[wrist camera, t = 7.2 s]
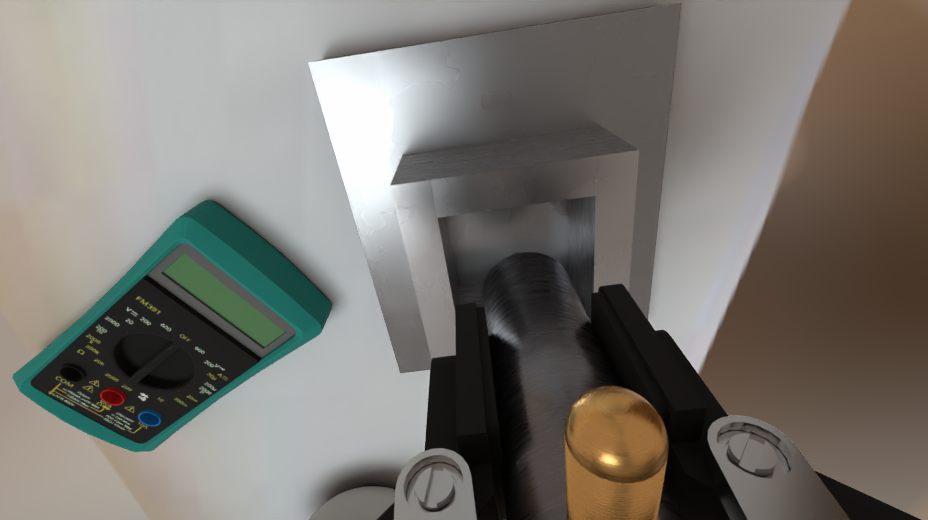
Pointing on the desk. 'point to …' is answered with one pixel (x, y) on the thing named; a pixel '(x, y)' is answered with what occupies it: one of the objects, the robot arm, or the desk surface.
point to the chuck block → (503, 161)
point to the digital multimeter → (176, 333)
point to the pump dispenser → (357, 504)
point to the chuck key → (567, 406)
